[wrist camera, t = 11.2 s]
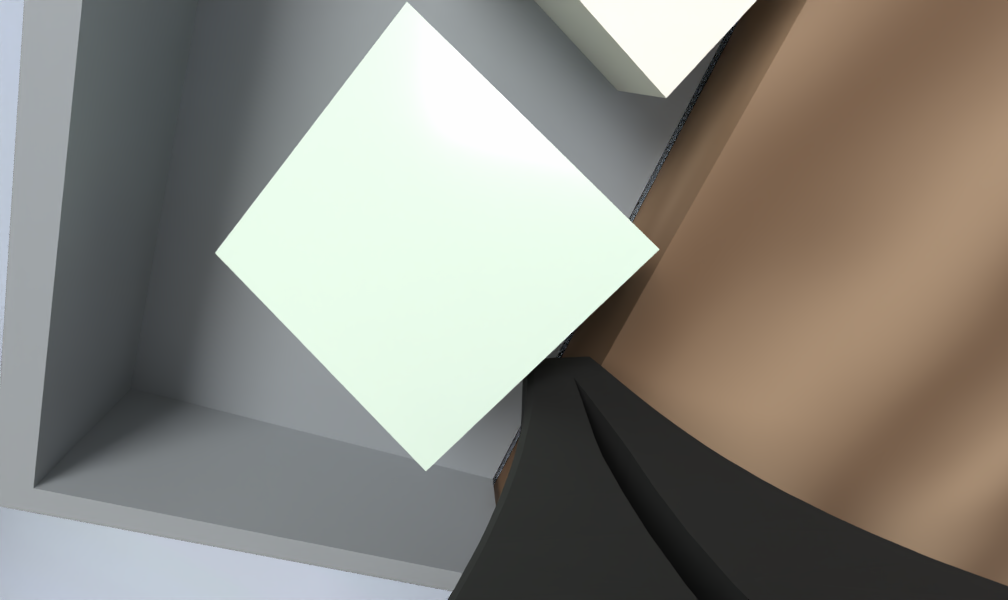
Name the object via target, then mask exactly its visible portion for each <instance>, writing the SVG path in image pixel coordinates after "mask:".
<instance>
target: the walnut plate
mask: <svg viewBox="0 0 1008 600" xmlns="http://www.w3.org/2000/svg"><path fill="white" fill-rule="evenodd" d="M632 223H633V224H634V225H635V226H636V227H637V228H638V229H639V230H640V231H641V232H642V233H643V234H644V235H645V236H646V237H647V238H648V239H649V240H650V241H652V242H653V243H654V244H655V245H656V246H657V247H658V248H659V250H658V251H657V252H656V253H655V254H654V255H653V256H652V257H651V258H650V259H649V260H648V261H647V262H646V263H645V264H644V265H643V266H641V267H640V268H639V269H638V270H637V271H636V272H635V273H634V274H633V275H632V276H631V277H630V278H629V279H628V280H627V281H626V282H625V283H624V284H623V285H621V286H620V287H619V288H618V289H617V290H616V291H615V292H614V293H613V294H612V295H611V296H610V297H609V298H608V299H607V300H606V301H605V302H604V303H603V304H601V305H600V306H599V307H598V308H597V309H596V310H595V311H594V312H593V313H592V314H591V315H590V316H589V317H588V318H587V319H586V320H585V321H584V322H583V323H581V324H580V325H579V326H578V327H577V329H576V330H575V332H574V334H573V336H572V338H571V340H570V342H569V344H568V346H567V347H566V349H565V351H564V353H563V355H562V357H561V358H565V357H591V358H592V359H593V360H595V361H596V362H597V363H598V364H600V365H601V366H602V367H603V368H605V369H606V370H607V371H608V372H609V373H611V374H612V375H613V376H614V377H615V378H617V379H618V380H619V381H620V382H621V383H623V384H624V385H625V386H626V387H628V388H629V389H630V390H631V391H632V392H634V393H635V394H636V395H637V396H639V397H640V398H641V399H642V400H644V401H645V402H646V403H648V404H649V405H650V406H651V407H653V408H654V409H655V410H657V411H658V412H659V413H660V414H662V415H663V416H665V417H666V418H667V419H669V420H670V421H671V422H673V423H674V424H675V425H677V426H678V427H680V428H681V429H683V430H684V431H685V432H687V433H688V434H690V435H691V436H693V437H694V438H696V439H697V440H698V441H700V442H701V443H703V444H704V445H706V446H707V447H709V448H710V449H712V450H714V451H715V452H717V453H718V454H720V455H721V456H723V457H725V458H726V459H728V460H730V461H731V462H733V463H735V464H737V465H738V466H740V467H742V468H743V469H745V470H747V471H748V472H750V473H752V474H754V475H755V476H757V477H759V478H760V479H762V480H764V481H766V482H768V483H769V484H771V485H773V486H775V487H777V488H779V489H781V490H783V491H784V492H786V493H788V494H790V495H792V496H794V497H796V498H798V499H800V500H802V501H804V502H806V503H808V504H810V505H812V506H814V507H816V508H818V509H820V510H822V511H824V512H826V513H828V514H830V515H833V516H835V517H837V518H839V519H841V520H844V521H846V522H848V523H850V524H852V525H855V526H857V527H859V528H861V529H863V530H866V531H868V532H870V533H872V534H875V535H877V536H880V537H882V538H884V539H887V540H889V541H892V542H894V543H896V544H899V545H901V546H903V547H906V548H908V549H911V550H913V551H915V552H918V553H920V554H923V555H925V556H928V557H930V558H933V559H935V560H938V561H940V562H943V563H946V564H949V565H951V566H954V567H957V568H960V569H962V570H965V571H968V572H971V573H973V574H976V575H979V576H982V577H984V578H987V579H990V580H993V581H995V582H998V583H1001V584H1004V585H1007V586H1008V0H757V1H756V2H755V3H754V4H753V5H752V6H751V7H750V8H749V9H748V10H747V11H746V12H745V14H744V15H743V16H742V17H741V18H740V19H739V21H738V23H737V25H736V27H735V29H734V31H733V32H732V34H731V36H730V38H729V40H728V42H727V44H726V46H725V48H724V50H723V51H722V53H721V55H720V57H719V59H718V61H717V63H716V65H715V67H714V69H713V70H712V72H711V74H710V76H709V78H708V80H707V82H706V84H705V86H704V87H703V89H702V91H701V93H700V95H699V97H698V99H697V101H696V103H695V105H694V106H693V108H692V110H691V112H690V114H689V116H688V118H687V120H686V122H685V124H684V125H683V127H682V129H681V131H680V133H679V135H678V137H677V139H676V141H675V143H674V144H673V146H672V148H671V150H670V152H669V154H668V156H667V158H666V160H665V162H664V163H663V165H662V167H661V169H660V171H659V173H658V175H657V177H656V179H655V180H654V182H653V184H652V186H651V188H650V190H649V192H648V194H647V196H646V198H645V199H644V201H643V203H642V205H641V207H640V209H639V211H638V213H637V215H636V217H635V218H634V220H633V222H632ZM518 440H519V439H518ZM518 440H517V442H516V444H515V446H514V448H513V450H512V452H511V454H510V456H509V458H508V459H507V461H506V463H505V465H504V467H503V469H502V471H501V473H500V475H499V477H498V478H497V480H496V482H495V484H494V495H495V504H496V505H497V502H498V500H499V498H500V495H501V493H502V490H503V487H504V485H505V482H506V479H507V477H508V474H509V471H510V468H511V465H512V462H513V459H514V455H515V452H516V448H517V444H518Z"/></svg>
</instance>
